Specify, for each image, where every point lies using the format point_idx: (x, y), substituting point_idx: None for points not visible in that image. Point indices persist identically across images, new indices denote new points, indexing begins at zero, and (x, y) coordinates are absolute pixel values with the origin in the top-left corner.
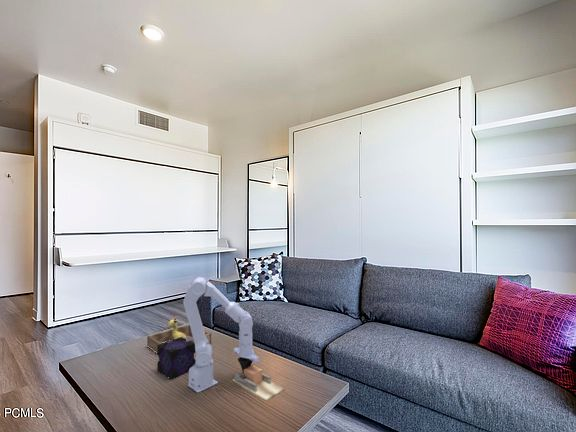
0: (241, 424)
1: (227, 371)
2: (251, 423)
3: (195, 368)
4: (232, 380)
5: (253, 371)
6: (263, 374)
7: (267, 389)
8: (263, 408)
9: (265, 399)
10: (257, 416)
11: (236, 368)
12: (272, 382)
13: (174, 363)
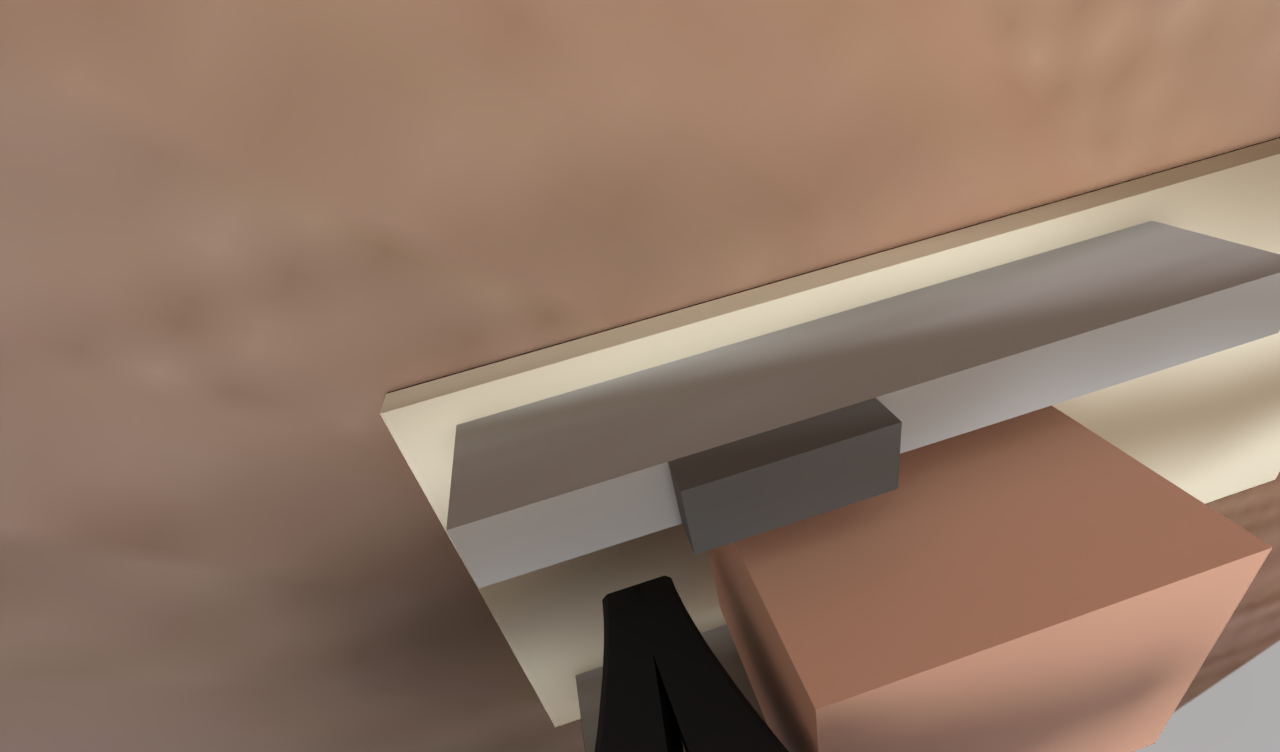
0: (1187, 689)
1: (125, 742)
2: (1252, 640)
3: None
4: (560, 715)
5: (1091, 730)
6: (1076, 381)
7: (1194, 383)
8: (1270, 526)
9: (1254, 480)
10: (1262, 592)
11: (6, 604)
12: (1174, 191)
13: None
